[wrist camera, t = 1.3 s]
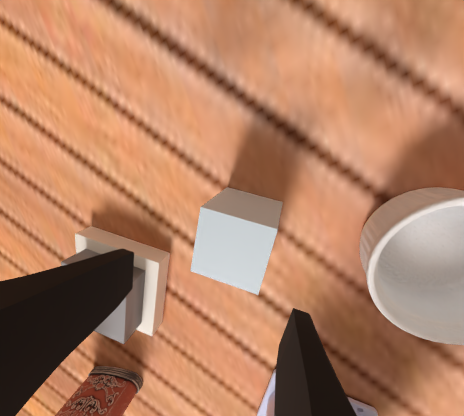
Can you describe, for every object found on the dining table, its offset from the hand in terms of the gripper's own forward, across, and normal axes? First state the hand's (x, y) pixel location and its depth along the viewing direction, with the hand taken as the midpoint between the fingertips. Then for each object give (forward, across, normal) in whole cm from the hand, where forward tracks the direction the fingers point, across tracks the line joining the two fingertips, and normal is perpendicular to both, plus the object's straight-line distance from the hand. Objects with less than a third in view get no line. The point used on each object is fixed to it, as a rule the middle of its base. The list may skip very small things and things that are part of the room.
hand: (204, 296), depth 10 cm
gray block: (+10, 0, 0) cm, 10 cm away
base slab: (+10, +11, +10) cm, 18 cm away
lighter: (+10, +12, +27) cm, 31 cm away
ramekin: (+10, -12, -2) cm, 16 cm away
